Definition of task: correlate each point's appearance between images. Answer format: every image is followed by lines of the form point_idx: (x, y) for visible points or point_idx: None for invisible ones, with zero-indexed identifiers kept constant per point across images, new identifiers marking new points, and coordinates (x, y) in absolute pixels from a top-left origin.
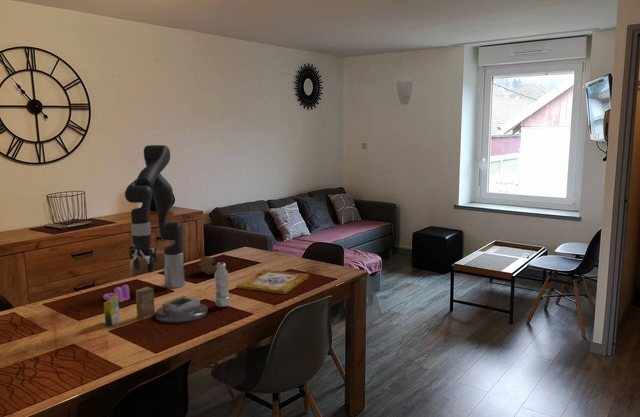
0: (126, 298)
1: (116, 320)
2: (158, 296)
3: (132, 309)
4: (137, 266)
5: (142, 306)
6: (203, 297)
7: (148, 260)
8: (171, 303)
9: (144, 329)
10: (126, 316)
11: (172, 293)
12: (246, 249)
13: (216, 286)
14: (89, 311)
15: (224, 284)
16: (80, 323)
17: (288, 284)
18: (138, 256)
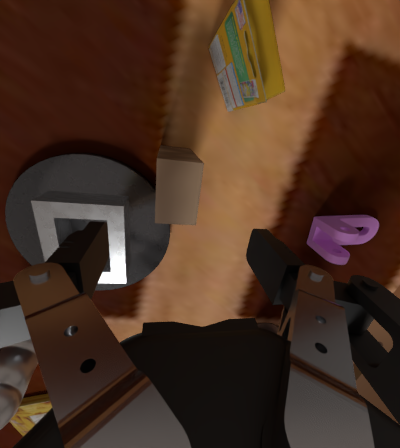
0: (311, 236)
1: (220, 83)
2: (250, 281)
3: (250, 192)
4: (257, 255)
5: (160, 150)
6: (146, 320)
7: (18, 301)
8: (108, 226)
9: (80, 70)
10: (227, 142)
11: (232, 306)
12: None
13: (16, 351)
14: (357, 126)
15: None
16: (328, 19)
17: (30, 428)
18: (254, 322)
